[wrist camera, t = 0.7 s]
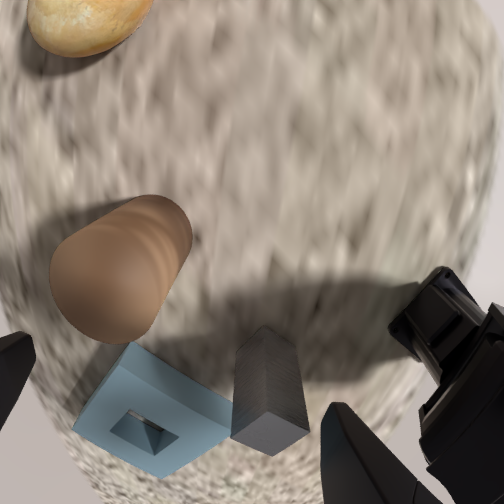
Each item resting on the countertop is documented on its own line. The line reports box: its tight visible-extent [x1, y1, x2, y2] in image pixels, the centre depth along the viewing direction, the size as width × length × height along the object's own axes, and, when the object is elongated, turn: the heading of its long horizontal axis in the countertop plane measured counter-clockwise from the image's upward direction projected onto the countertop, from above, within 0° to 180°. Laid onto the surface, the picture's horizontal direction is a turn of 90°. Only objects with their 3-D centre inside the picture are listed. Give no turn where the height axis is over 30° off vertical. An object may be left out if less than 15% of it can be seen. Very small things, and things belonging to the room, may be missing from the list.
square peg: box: [230, 325, 310, 457], centre depth 19 cm, size 3×3×8 cm
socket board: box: [72, 341, 233, 479], centre depth 24 cm, size 10×12×3 cm
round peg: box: [49, 195, 193, 344], centre depth 16 cm, size 5×5×8 cm
